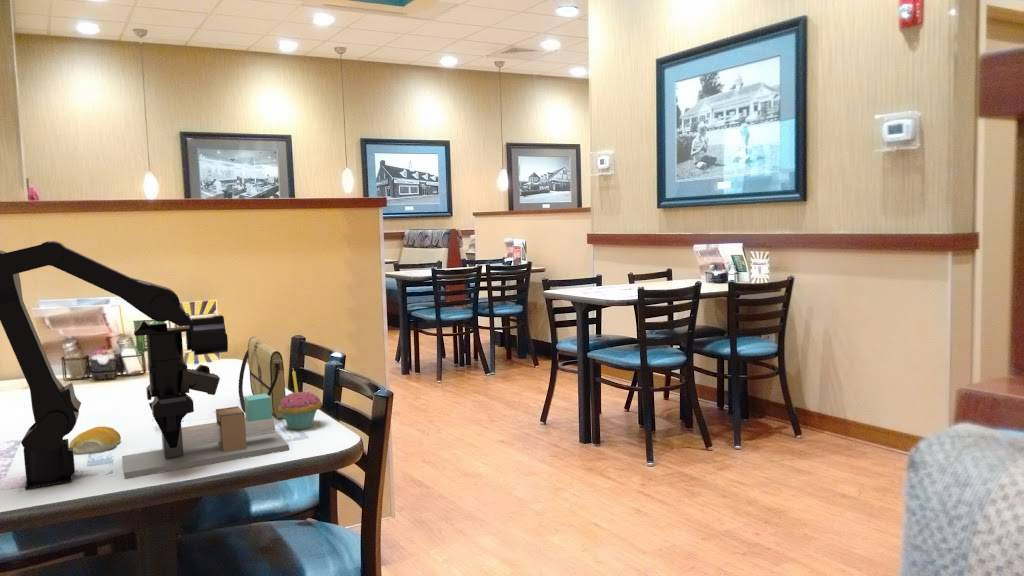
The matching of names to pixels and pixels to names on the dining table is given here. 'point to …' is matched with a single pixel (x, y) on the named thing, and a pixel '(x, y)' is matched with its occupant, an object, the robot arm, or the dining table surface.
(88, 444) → the bread roll
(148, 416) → the dining table surface
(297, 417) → the cupcake
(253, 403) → the block
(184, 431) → the grey long block
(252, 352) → the shoulder bag
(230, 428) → the guide
